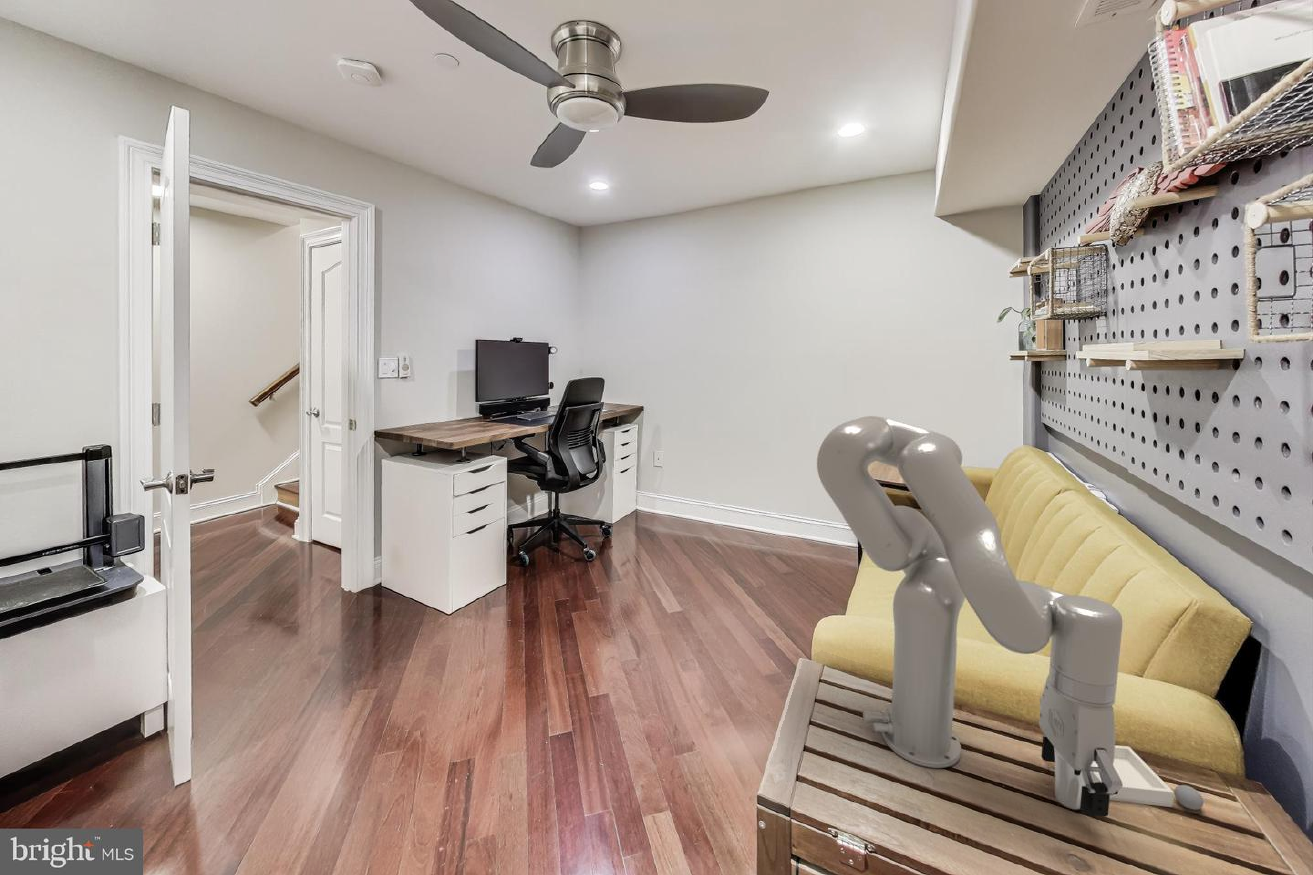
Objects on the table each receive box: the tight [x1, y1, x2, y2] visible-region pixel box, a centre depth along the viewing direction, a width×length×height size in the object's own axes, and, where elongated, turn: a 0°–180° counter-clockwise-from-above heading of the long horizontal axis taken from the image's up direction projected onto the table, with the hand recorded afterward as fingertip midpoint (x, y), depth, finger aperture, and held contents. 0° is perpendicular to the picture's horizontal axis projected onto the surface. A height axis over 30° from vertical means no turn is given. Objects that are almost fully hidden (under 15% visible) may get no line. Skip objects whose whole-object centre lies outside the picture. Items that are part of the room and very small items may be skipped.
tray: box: [1090, 744, 1175, 808], centre depth 81 cm, size 9×9×2 cm
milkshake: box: [1054, 747, 1093, 811], centre depth 76 cm, size 4×5×10 cm
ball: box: [1173, 784, 1204, 810], centre depth 76 cm, size 3×3×3 cm
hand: (1072, 785), depth 76 cm, fingers open, 9 cm apart
